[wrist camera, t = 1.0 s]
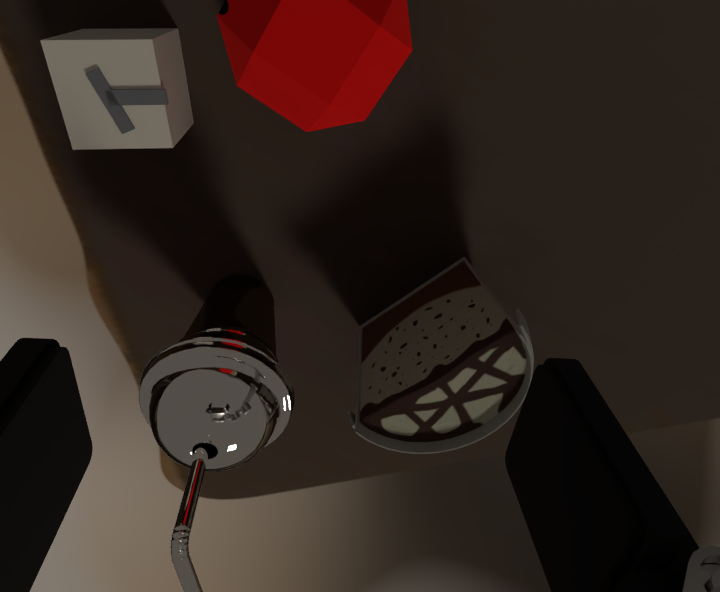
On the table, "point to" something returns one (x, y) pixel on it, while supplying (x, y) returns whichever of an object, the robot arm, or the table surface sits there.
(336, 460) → the table surface
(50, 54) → the off-white block numbered 7
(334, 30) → the ball
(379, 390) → the food container
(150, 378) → the cup with straw
